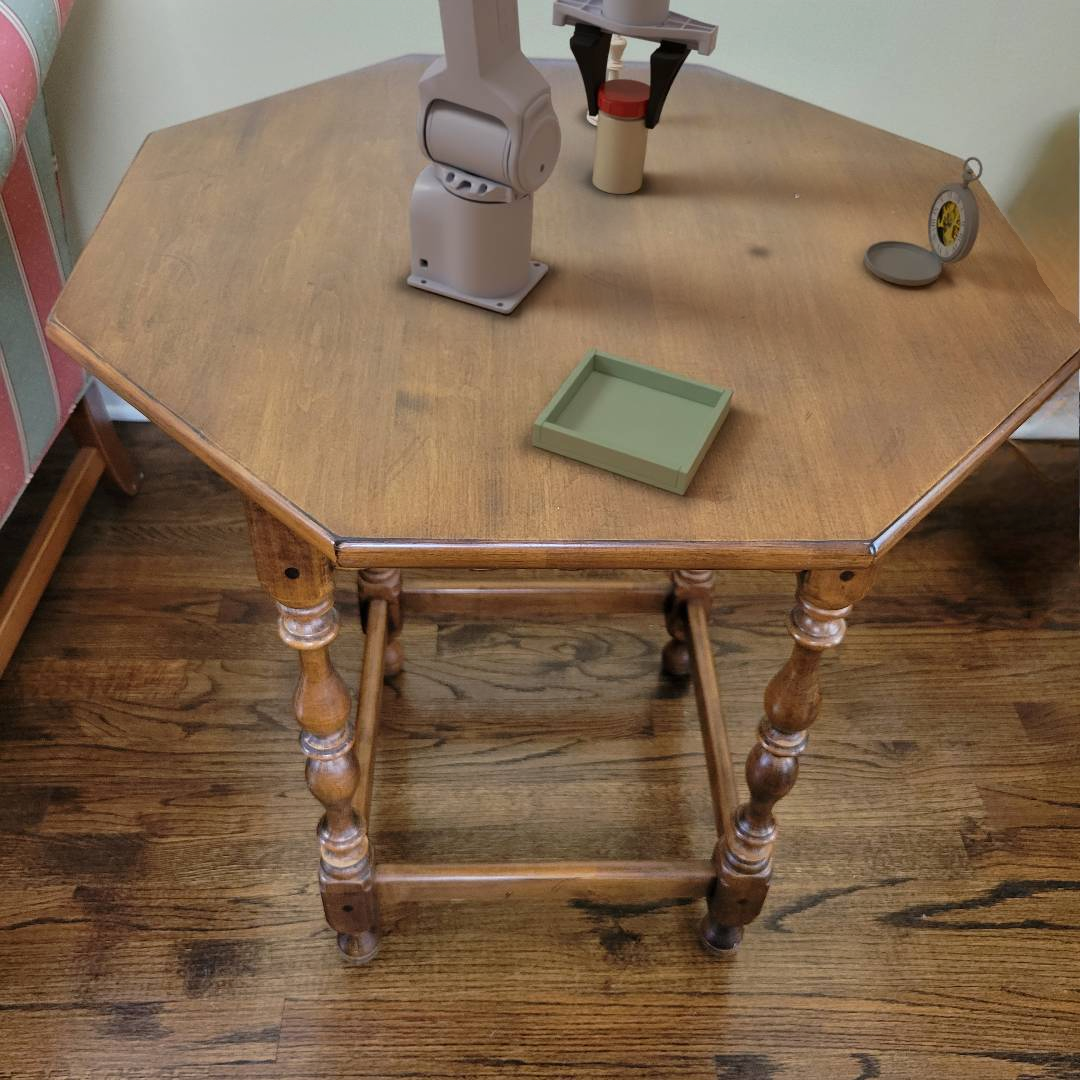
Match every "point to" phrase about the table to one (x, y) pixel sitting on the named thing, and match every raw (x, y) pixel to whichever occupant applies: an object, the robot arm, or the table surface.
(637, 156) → the jar
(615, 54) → the chess piece
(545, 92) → the robot arm
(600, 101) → the lid
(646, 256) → the table surface
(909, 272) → the pocket watch
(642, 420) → the tray
